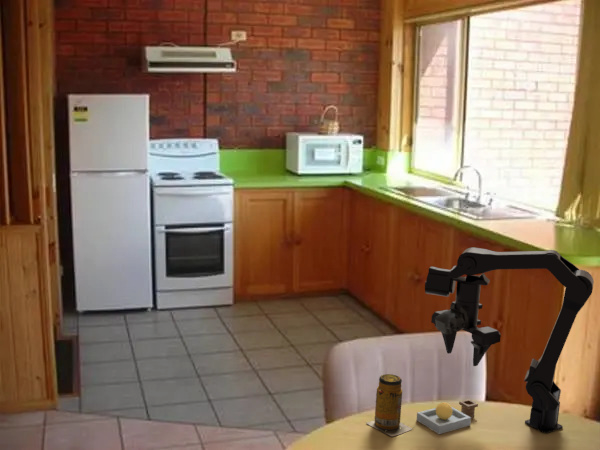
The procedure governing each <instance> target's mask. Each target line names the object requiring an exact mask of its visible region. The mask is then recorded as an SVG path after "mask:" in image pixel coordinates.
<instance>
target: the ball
mask: <svg viewBox="0 0 600 450" xmlns="http://www.w3.org/2000/svg"><path fill="white" fill-rule="evenodd" d="M452 407H453V406H451V405H450V403H448V402H440V403H438V404H437V406H436V407H435V408H436V415H437V416H438V417H439V418H440V419H443V420H446V419H449V418H450V417H451V416H452V412H453V411H452Z"/></svg>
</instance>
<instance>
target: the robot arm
mask: <svg viewBox="0 0 600 450" xmlns="http://www.w3.org/2000/svg"><path fill="white" fill-rule="evenodd" d="M539 269H540V270H544V269H545V270H548V272H549V273H551V274H552V275H553V276H554V278H555V279H556V280H557V281H558V282H559V283H560V284H561V285H562V286H563V287H564V288H565V289H564V295H563V300H562V305H561V307H560V311H559V313H558V316H557V318H556V321H555V323H554V325H553V328H552V330H551V333H550V334H549V338H548V340H547V343H546V345H545V347H544V350H543V353H542V355H541V356H540V358H539V359H538V360H537V359H535V358H532V359H531V363H530V365H529V369H528V370H527V371H526V374H525V377H524V381H523V382H524V383H525V382H526V384H525V390H526V392H527V394H528V395H529V396H530V397H532V402H531V408H530V414H529V419H526V420H524V423H525V424H526V425H529V426H530V427H532V428H534V429H536V430H537V431H539V432H541V433H544V434H548V433H552V432H555V431H558V430H561V429H563V427H564V426H563V425H562V424H560V423H559V415H560V407H561V402H560V399H561V393H562V390H561V389H560V387H559V386H558V385H557V384H556V383H555V381H554V380H555V379H554V378H555V372H556V368H557V364H558V361H559V359H560V356H561V354H562V352H563V349H564V347H565V344H566V342H567V340H568V337H569V335H570V332H571V330H572V327H573V325H574V323H575V319H576V318H577V315H578V314H579V312H580V311H581V309H582V308H583V307H584V306H585V305H586V303H587V302H588V300H589V298H590V297H591V295H592V293H593V288H594V283H595V282H594V277H593V276H592V274H591V273H590V272H589V271H587V270H584V269H580V268H579V267H577V266H576V265H575V264H574V263H573V262H571V261H569V260H568V259H567V258H565V257H564V256H562V254H560V253H559V252H558V251H557V250H554V249H548V250H533V251H531V250H529V251H527V250H526V251H524V250H523V251H494V250H490V249H486V248H480V247H469V248H466V249H465V250H463V252H462V253H461V254H460V255H459V256H458V259H457V262H456V265H453V266H452V268H451V269H446V268H440V267H436V266H430V267H428V272H427V276H426V280H425V282H424V293H425V294H427V295H433V296H434V295H435V296H441V297H446V298H447V297H450V295H451V294H454V292H455V300H454V301H452V302H451V303H450V307H449V309H443V310H437V311H434V312H433V313H432V315H431V318H430V319H431V321H430V322H431V323H432V324H433V325H434V327H435V328H436V330H437V331H439V332H440V333H441V335H442V338H443V342H444V347H445V350H446V354H448V355H449V354H452V352H453V348H454V345H455V341H456V338H457V333H458V332H460V331H461V330H462V331H465V332H466V333H469V334H471V339H472V340H471V341H470V344H471V345H472V347H473V353H472V354H473V355H472V356H473V357H472V365H473V367H477V366H478V365H479V364H480V363H481V360H482V359H483V357H485V354H486V352H487V351H488V350H489V349H490V348H491V346H492V345H495V344H497V343H501V337H502V336H501V332H500V331H499V329H496V328H492V327H491V326H484V327H483V326H482V327H478V326H480V325H481V324H482V320H480V319H479V318H478V317H479V310H482V309H483V306H484V305H483V304H482V303H480V298H481V297H480V296H481V290H482V289H481V288H482V287H481V286H488V285H489V284H490V282H491V281H490V279H489V278H488V277H487V276H486V274H485V273H489V272H491V271H498V270H539ZM464 275H465V276H464ZM455 289H456V290H455Z"/></svg>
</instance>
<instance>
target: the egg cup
mask: <svg viewBox="0 0 600 450" xmlns="http://www.w3.org/2000/svg"><path fill="white" fill-rule="evenodd" d="M458 404H459V405H460V406H461V409H460V410H461V411H460V412H462V413H464V414H466V415H467V416H469V417H471V419H472V418H473V417H475V410H476V408H478V406H479V404H478V403H477V402H475V401H473V400H472V399H470V398H467V399H464V400H460V401H458Z"/></svg>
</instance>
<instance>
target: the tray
mask: <svg viewBox="0 0 600 450" xmlns="http://www.w3.org/2000/svg"><path fill="white" fill-rule="evenodd" d="M451 407H452V411H453V412H452V416H451V417H450V418H449V419H446V420H443V419H440V418H439V417H438V416H437V415H436V407H433V408H430V409H425V410H422V411H419V412H416V421H417V422H419V423H420V424H422V425H423V426H426V427H427V428H428V429H430V430H431V431H434V432H435V433H436V434H438V435H441V434H444V433H448V432H451V431H455V430H459V429H462V428H466V427H469V426H471V420H472V418H471V417H469V416H467V415H466V414H464V413H462V412H461V411H460V410H458V409H456V408H455V407H453V406H451Z"/></svg>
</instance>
